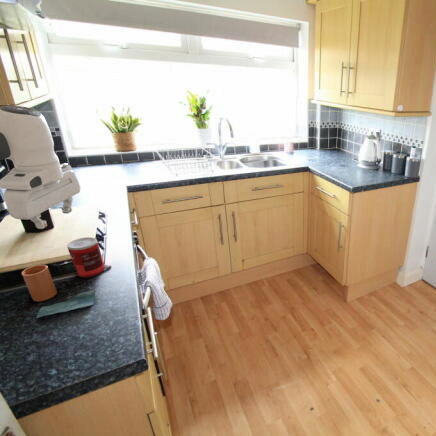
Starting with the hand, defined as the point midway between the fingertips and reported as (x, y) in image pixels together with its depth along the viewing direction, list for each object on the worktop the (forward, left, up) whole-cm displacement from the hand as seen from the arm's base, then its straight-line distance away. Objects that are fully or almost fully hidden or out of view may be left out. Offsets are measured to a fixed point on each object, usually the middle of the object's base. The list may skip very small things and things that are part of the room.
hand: (55, 219), depth 89 cm
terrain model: (+2, -10, -24) cm, 25 cm away
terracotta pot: (-8, -3, -23) cm, 25 cm away
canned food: (-1, +9, -23) cm, 25 cm away
